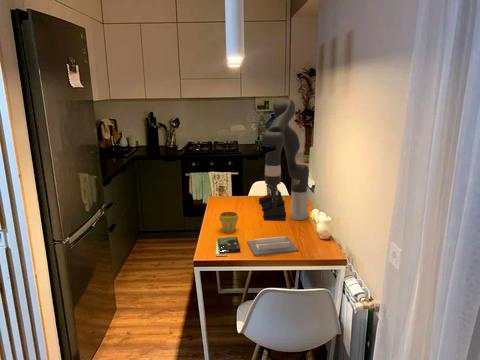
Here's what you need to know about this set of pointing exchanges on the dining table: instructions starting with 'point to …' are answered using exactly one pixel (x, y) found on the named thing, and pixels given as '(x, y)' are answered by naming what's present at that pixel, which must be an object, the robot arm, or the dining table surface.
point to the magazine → (273, 214)
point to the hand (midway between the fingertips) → (272, 207)
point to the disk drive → (229, 245)
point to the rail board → (272, 246)
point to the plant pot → (228, 221)
